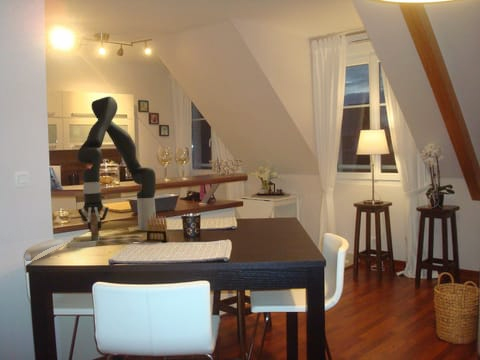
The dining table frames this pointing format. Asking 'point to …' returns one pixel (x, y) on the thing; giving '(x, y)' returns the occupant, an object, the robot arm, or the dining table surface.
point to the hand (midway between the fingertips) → (94, 229)
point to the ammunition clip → (157, 229)
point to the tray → (81, 244)
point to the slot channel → (119, 240)
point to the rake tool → (94, 228)
